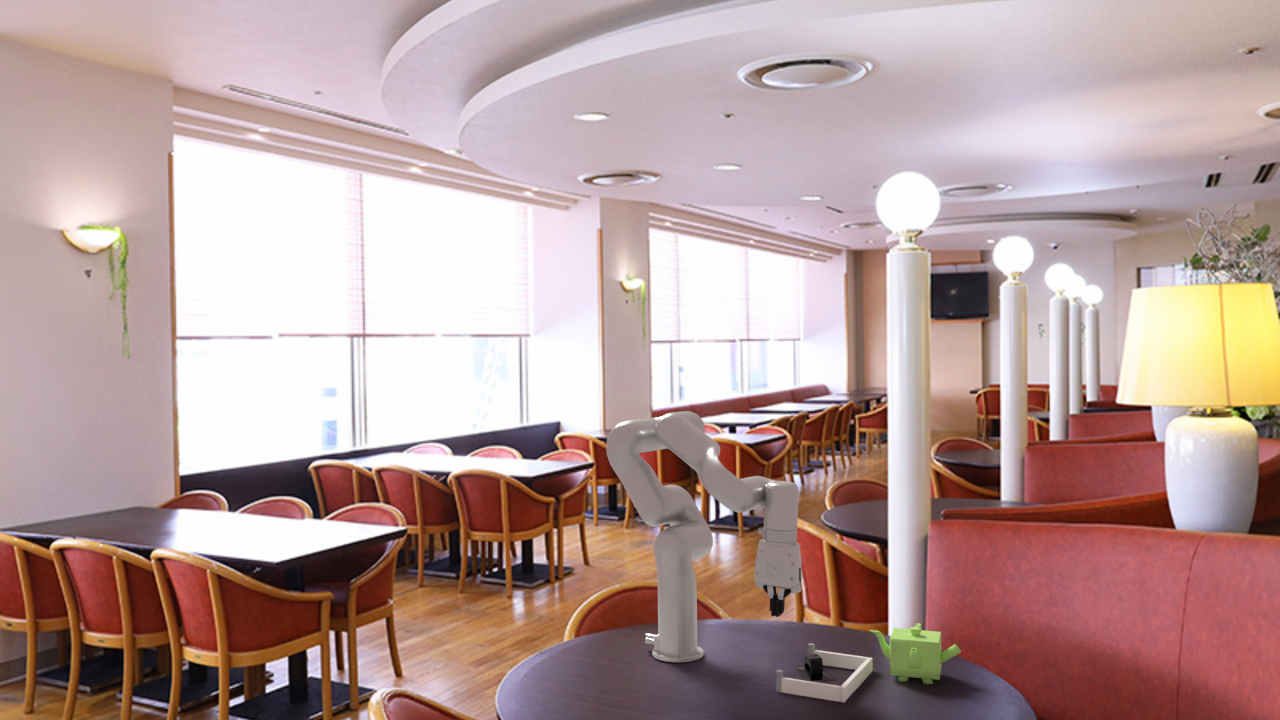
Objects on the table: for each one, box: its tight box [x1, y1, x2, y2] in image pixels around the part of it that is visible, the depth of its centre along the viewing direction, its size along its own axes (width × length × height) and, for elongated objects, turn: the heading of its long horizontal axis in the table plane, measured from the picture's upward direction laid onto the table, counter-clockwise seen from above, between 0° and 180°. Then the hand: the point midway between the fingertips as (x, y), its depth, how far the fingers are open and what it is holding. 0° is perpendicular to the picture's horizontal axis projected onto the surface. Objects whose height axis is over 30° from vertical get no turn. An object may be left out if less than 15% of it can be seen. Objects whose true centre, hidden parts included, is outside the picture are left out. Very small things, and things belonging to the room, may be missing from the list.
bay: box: [775, 643, 874, 703], centre depth 215 cm, size 15×23×4 cm, turn 152°
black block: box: [795, 653, 833, 682], centre depth 220 cm, size 12×7×5 cm, turn 11°
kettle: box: [869, 622, 962, 685], centre depth 216 cm, size 15×14×11 cm
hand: (776, 614), depth 219 cm, fingers closed
